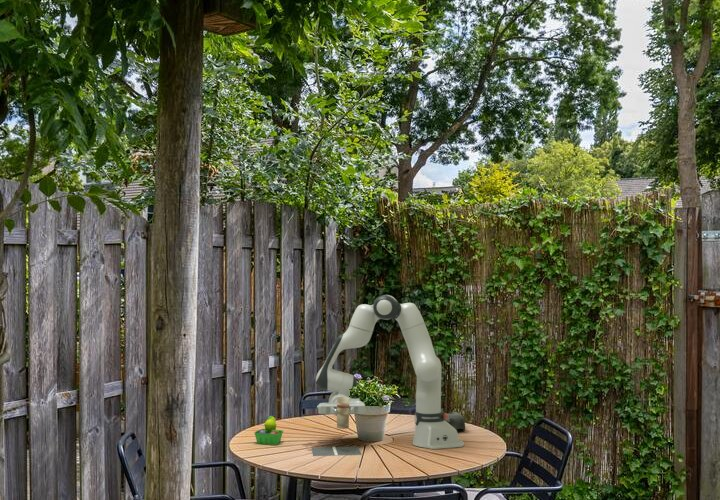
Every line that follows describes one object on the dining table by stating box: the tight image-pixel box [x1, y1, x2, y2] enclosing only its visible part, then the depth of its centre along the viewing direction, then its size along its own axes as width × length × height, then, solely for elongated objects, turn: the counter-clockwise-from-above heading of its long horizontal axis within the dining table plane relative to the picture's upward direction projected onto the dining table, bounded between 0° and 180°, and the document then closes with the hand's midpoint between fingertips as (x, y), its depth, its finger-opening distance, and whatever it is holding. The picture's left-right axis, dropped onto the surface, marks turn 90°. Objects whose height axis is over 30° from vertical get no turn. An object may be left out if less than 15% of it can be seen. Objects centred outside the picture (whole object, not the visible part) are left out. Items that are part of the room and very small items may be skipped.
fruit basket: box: [254, 415, 284, 446], centre depth 287 cm, size 11×9×11 cm
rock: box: [443, 411, 466, 432], centre depth 316 cm, size 18×11×8 cm, turn 10°
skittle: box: [336, 397, 350, 430], centre depth 270 cm, size 5×5×12 cm
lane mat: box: [311, 445, 363, 457], centre depth 268 cm, size 20×14×1 cm
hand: (343, 411), depth 269 cm, fingers closed on skittle, 5 cm apart
